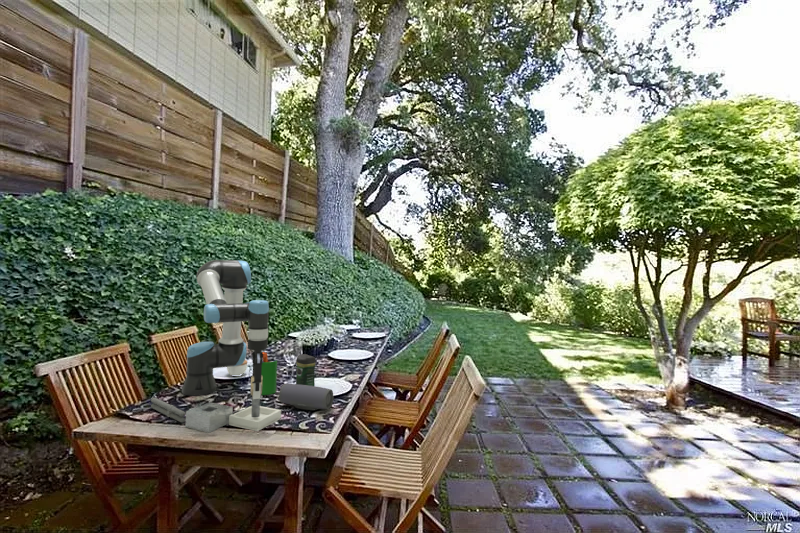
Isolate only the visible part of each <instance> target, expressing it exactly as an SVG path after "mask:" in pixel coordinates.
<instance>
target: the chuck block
mask: <svg viewBox="0 0 800 533" xmlns="http://www.w3.org/2000/svg"><path fill="white" fill-rule="evenodd" d="M185 413H186V415H185V419H186V420H185V428H187V429H191V430H192V429H193V430H197V431H200V432H205V433H211V432H214V431H216V430H218V429H219V428H222V427H223V426H226V425H229V416H230V415H232V414H234V412H233V406H229V405H225V404H220V403H215V402H211V401H210V402H207V403H205V404H202V405H200V406H197V407H194V408H191V409H189V410H186V411H185Z"/></svg>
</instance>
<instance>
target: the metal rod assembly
mask: <svg viewBox="0 0 800 533" xmlns="http://www.w3.org/2000/svg"><path fill="white" fill-rule="evenodd" d="M150 399H151V400H150V402H151V403H152V404H150V408H151V409H153V410H156V411H157V412H159V413H161V414H163V415H165V416H167V418H169V417H170V419H173V420H175V421H178V422H179V423H182V424H184V423H186V411H184V410H181V409H180V408H178V407H176V405H174V404H169V403H167V402H165V401H163V400H162V399H159V398H157V397H152V398H150Z"/></svg>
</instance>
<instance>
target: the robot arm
mask: <svg viewBox="0 0 800 533" xmlns="http://www.w3.org/2000/svg"><path fill="white" fill-rule="evenodd" d="M196 281H197V284H198V286H199V287H201V289H202V293H203V297H204V299H205V303H206V304H205V305H204V308H203V320H204V322H205V323H207V324H219V323H222V332H221V333H222V334H221V337H220V338H219V339H218V343H216V344H215V343H214V341H200V342H196V343H193V344H191V345H189V346H188V348H187V350H186V351H187V352H186V376H185V380H184V383H183V386H182V387H181V394H183V395H185V396H194V397H196V396H204V395H208V394H212V393H214V392H216V390H217V383H216V380H215V377H214V369H218V368H220V369H221V368H227V367H231V366H233V367H234V366H238V365H241V364H243V362H244V361H245V360H246V356H247V349H248V350H250V351H252V353H251V358H252V361H251V363H252V373H251V376H253V375H254V382H252V383H254V384H253V399H260V400H261V395H260V394H261V381H262V380H261V373H262V362H263V354H262V350H267V349H268V338H269V311H270V308H269V306H270V305H269V304H270V303H269V301H268V300H263V299H253V300H251V301H248V302H245V303H244V302H243V299H244V291H245V290H246V289H247V288H248V287H247V286H248V285H249V284H251V282H252V272H251V268H250V265H249V263H248V262H247V261H245V260H239V259H236V260H231V259H228V260H227V259H221V260H220V259H213V260H209V261H207V262H204V264H202V265H201V266H200V267H199V268H198V270H197V271H196ZM242 322H248V328H247V330H246V334H247V337H248V340H247V343H246V342H244V339H243V338H242V337H241V332H242Z"/></svg>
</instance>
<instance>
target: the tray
mask: <svg viewBox="0 0 800 533" xmlns="http://www.w3.org/2000/svg"><path fill="white" fill-rule="evenodd" d="M251 414H252V405H251V406H248V407H246V408H244V409H241V410H239V411H237V412H235V413H233V414H232V415H230V416H229V424H228V425H229V426H233V427H237V428H242V429H246V430H250V431H255V432H259V431H260V430H262V429H265V428H266V427H268V426H270V425H272V424H274V423H275V422H277V421H279V420H281V418H282V409H278V408H277V409H276V408H272V407H266V406H261V405H260V416H259V417H255V418H254V417H251Z"/></svg>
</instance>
